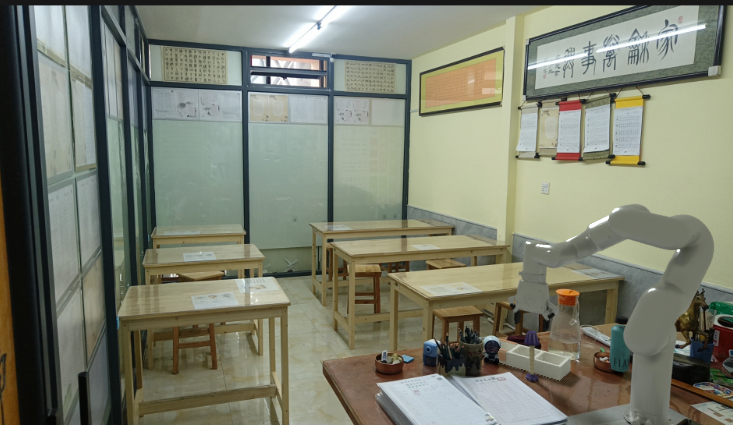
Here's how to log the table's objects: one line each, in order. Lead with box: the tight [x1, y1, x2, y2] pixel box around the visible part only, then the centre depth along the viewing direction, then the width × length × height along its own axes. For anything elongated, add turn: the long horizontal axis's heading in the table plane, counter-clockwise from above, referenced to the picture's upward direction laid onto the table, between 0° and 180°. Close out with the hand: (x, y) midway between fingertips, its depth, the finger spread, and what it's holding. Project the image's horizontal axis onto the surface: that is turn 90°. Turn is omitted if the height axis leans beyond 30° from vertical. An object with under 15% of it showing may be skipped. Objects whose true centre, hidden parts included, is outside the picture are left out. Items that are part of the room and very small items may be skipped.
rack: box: [498, 338, 572, 382], centre depth 173 cm, size 11×28×5 cm, turn 48°
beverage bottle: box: [608, 315, 631, 373], centre depth 167 cm, size 6×7×20 cm
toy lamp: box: [524, 330, 540, 382], centre depth 162 cm, size 5×5×17 cm
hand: (531, 326), depth 161 cm, fingers open, 9 cm apart
